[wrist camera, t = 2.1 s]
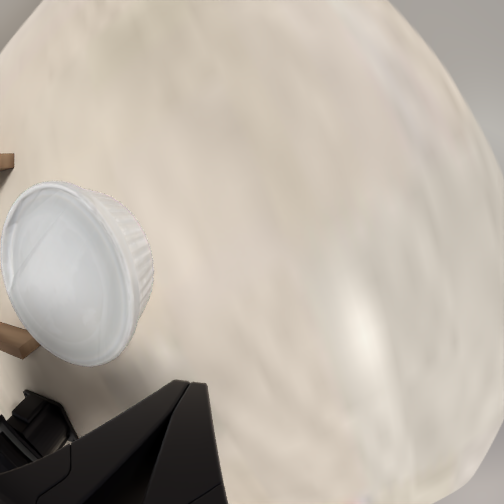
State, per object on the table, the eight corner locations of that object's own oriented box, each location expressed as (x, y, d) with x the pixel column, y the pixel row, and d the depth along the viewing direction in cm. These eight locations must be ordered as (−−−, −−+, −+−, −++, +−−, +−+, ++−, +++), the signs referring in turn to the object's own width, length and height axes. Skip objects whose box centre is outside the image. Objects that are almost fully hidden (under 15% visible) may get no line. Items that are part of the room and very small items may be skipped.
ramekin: (59, 161, 18) (8, 162, 13) (191, 209, 18) (157, 222, 13) (40, 292, 21) (-1, 316, 15) (150, 352, 21) (120, 395, 15)
